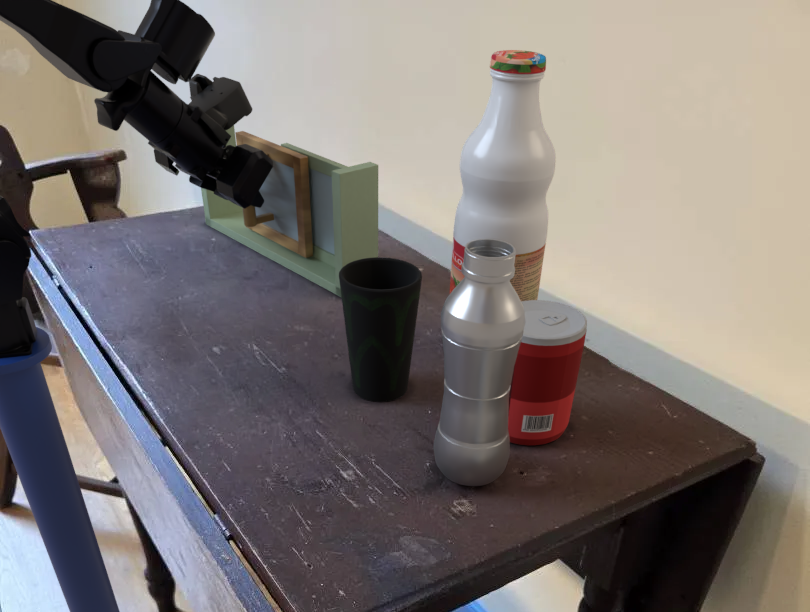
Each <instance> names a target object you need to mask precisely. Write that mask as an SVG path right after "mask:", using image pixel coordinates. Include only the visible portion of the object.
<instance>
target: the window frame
mask: <svg viewBox="0 0 810 612" xmlns="http://www.w3.org/2000/svg"><path fill="white" fill-rule="evenodd" d="M225 131H226V132H227V133H229V134H230V135H231V138H230V140H229V141H228V143H227V145H232V146H234V147H236V146H237V143H236V133H235V132H236V129H235V125H233V126H232V127H231V128H230V129H228V130H225ZM227 145H226V146H227ZM280 146H282V147H285V148H287V149H290V150H292V151H295V152H297V153H300V154H302V155H305V156H307V157H308V171H309V189H310V208H311V226H312V245H313V256H311V257H308V258H305V257H303V256H301V255H299V254H297V253H295V252H293V251H291V250H290V249H288V248H286V247H284V246H282V245H280V244H278V243H276V242H274V241H272V240H270V239H268V238H266V237H264V236H262V235H260V234H259V233H257V232H255V231H253V230H251V229H249V228H247V227H246V226H245V225H244V217H243V208H242V207H240V206H238V205H236V204H234V203H232V202H231V201H229V200H225V199H223V198H221V197H219V196H217V195H215V194H214V192H213V191H210V190H207V189H203V188H201V187H200V191H201V198H202V205H203V206H202V207H203V214H204V220H205V225H207V226H208V227H210V228H211V229H214V230H216V231H217V232H219V233H221V234H224V235H225V236H227V237H228V238H230V239H233V240H234V241H236V242H237V243H240V244H242V245H243V246H245V247H247V248H249V249H251V250H253V251H255V252H257V253H258V254H260V255H261V256H263V257H266V258H267V259H269V260H271V261H272V262H273V261H274V262H275V263H277V264H278V265H280V266H282V267H284V268H286V269H288V270H290V271H292V272H294V273H295V274H297V275H299V276H301V277H303V278H304V279H306V280H308V281H310V282H312V283H314V284H315V285H318V286H319V287H321V288H323V289H325V290H326V291H329V292H331V293H332V294H334V295H336V296H338V297H339V298H341V299H342V297H341V289H340V281H339V272H340V270H341V269H342V267H344V266H345V265H346V264H348V263H350V262H353V261H356V260H360V259H365V258H376V257H379V164H378V163H375V162H372V161H367V162H363V163H359V164H355V165H351V166H349V165H348V166H347V165H345V164H342V163H340V162H337V161H335V160H332V159H330V158H327V157H324V156H322V155H319V154H316V153H314V152H311V151H309V150H306V149H304V148H301V147H299V146H296V145H293V144H291V143H288V142H284V143H281V144H280Z"/></svg>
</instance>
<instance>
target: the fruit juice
mask: <svg viewBox="0 0 810 612" xmlns="http://www.w3.org/2000/svg"><path fill="white" fill-rule="evenodd" d="M546 69H547V57H546V55H545V54H543V53H540V52H536V51H530V50H520V49H506V50H504V49H503V50H497V51H494V52H493V53H492V54H491V56H490V61H489V76H490V77H491V81H492V82H491V89H490V93H489V98H488V101H487V104H486V106H485V109H484V112H483V115H482V117H481V119H480V121H479V123H478V124H477V126H476V127H475V128H474V129H473V131H472V132H471V133H470V134H469V135H468V137H467V139H466V140H465V141H464V144H463V146H462V148H461V152H460V158H459V173H460V179H461V185H462V193H461V196H460V199H459V200H458V202H457V206H456V209H455V213H454V214H455V215H454V221H453V222H454V223H453V231H452V236H453V237H452V251H451V265H450V278H449V279H450V282H449V294H448V296H449V295H450V293H451V292H452V291H453V289H454V288H455V287H456V286H457V285H458V284H459V283H460V282H461V281H462V280H463V279H464V277H465V276H464V275H463V274H462V271H461V269H462V263H463V262H464V251H465V246H466V244H467V243H468V242H470V241H473V240H477V239H495V240H501V241H504V242H507V243H509V244H511V245H513V246H514V247H515V249H516V251H515V252H516V255H515V263H514V267H515V273H514V277H513V278H512V279H510V283H511V285H512V286H513V288H514V289H515V291H516V293H517V294H518V296H519V299H520V301H529V300H539V293H540V292H539V291H540V286H541V277H542V272H543V271H542V270H543V264H544V258H545V251H546V245H547V238H548V230H549V209H548V205H547V194H548V192H549V189H550V186H551V184H552V182H553V178H554V175H555V171H556V163H557V160H556V159H557V157H556V149H555V146H554V144H553V142H552V139H551V138H550V136H549V134H548V133H547V130H546V128H545V127H544V123H543V118H542V113H541V111H542V110H541V105H540V104H541V103H540V85H541V81H542V80H543V79H544V77H545V73H546Z"/></svg>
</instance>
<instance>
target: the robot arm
mask: <svg viewBox="0 0 810 612" xmlns="http://www.w3.org/2000/svg"><path fill="white" fill-rule="evenodd" d="M0 22H2V23H4V24H5V25H6V26H8V27H10V28H12V29H13V30H14V31H16V33H18V34H19V35H21V37H23V38H24V39H25V40H26V41H27V42H28V43H29V44H30V45H31V46H32V47H33V49H34V50H35V51H36V52H37V53H39V55H40V56H42V58H43V59H45V60H46V61H47V62H49V63H50V64H51V65H52V66H53V67H54V68H56V69H57V70H58V71H59V72H60V73H61V74H62V75H63V76H64V77H66V78H68V79H70V80H71V81H75V82H77V83H79V84H81V85H85V86H86V87H90V88H92V89H95V90H97V91H100V92H103V93H107V94H106V95H105V96H102V97H95V98H94V100H93V102H94V104H95V107H96V118H97V123H98V125H99V126H102V127H105V128H108V129H110V130H112V131H115V132H118V131H119V130H120V128H121V126H122V124H123V122H124V121H125V123H127V124H128V125H129V126H131V128H133V129H134V130H135V131H137V133H139V134H140V135H141V136H143V138H145V139H146V140H147V141H148V142H147V144H148V145H149V146H150V147H151V148H153V153H154V154H153V155H154V161H155V163H156V164H158V165H159V166H160V167H161V168H163V170H165V171H166V172H169V173H171V174H172V175H175V176H178V175H179V173H180V172H182V173H184V174H186V175H189V177H188V181H189V183H191V184H192V185H193V186H194V185H195V186H197V187H199V188H200V189H201V188H203V189H207V190H210V191H213V192H214V194H215V195H217V196H219V197H221V198H223V199H225V200H229V201H231V202H232V203H234V204H236V205H238V206H240V207H242V208H244V209H245V208H247V207H249V206H250V205H251V206H255V207H258V208H261V207H262V205H263V203H264V199H263V197H262V195H261V193H260V192H259V190H260V188H261V186H262V185H263V183H264V181H265V180H266V178H267V176H268V174H269V173H270V171H271V169H272V168H273V160H272V159H271V158H269V157H268V156H267V155H266V154H265V153H264V152H263V151H262V150H260V149H257V148H255V147H252V146H250V145H247V144H242V145H237V144H236V147H234V146H232V145H227V143H228V141H229V140H230V138H231V135H230V134H229V133H227V132H226V131H225V130H228V129H230V128H231V127H232V126H233V125H234V126H235V125H236V124H237V123H238V122H239V121H241V120H242V119H244V117H248V116H250V115H251V113H252V112H253V107H252V105H251V102H250V100H249V99H248V96H247V94H246V92H245V89H244V88H243V86H242V83H241V82H240V81H237V80H234V79H232V78H228V77H227V76H221V77H217V76H214V77H213V78H212V80H213V81H212V80H211V79H210V78H208V77H207V76H206V75H203V74H200V73H196V74H195V72H196V70H197V69H198V67H199V65H200V64H201V61H202V60H203V58H204V56H205V54H206V52H207V51H208V49H209V47H210V46H211V43H212V42H213V40H214V38H215V37H216V31H215V30H214V28H213V26H212V25H211V24H210V22H209V21H208V20H207V19H206V18H205V17H204V15H202V14H201V13H198V12H196V11H195V10H194V9H193V8H192V7H190V6H189V5H187V4H186V3H185V2H183V1H181V0H150V4H149V7H148V10H147V11H146V13H145V15H144V16H143V18H142V20H141V21H140V24H139V25H138V27H137V30H136V31H135V33H131V32H127V31H123V30H116V29H115V28H113V27H111V26H110V25H108V24H105V23H104V22H101V21H99V20H97V19H95V18H92V17H90V16H89V15H87V14H84V13H81V12H79V11H77V10H75V9H73V8H70V7H67V6H66V5H63V4H61V3H58V2H56V1H54V0H0ZM156 74H157V75H156ZM194 74H195V75H194ZM158 76H159V77H160V78H162V79H163V80H165V81H166V82H168V83H170V84H173V85H177V83H178V81H179V80H181V81H183V82H184V83H188V85H189V95H190V96H189V99H190V100H191V101H190V102H189V103H187V102H185V101H184V100H183V99H182V98H180V97H179V95H177V94H176V92H174V91H173V90H172V89H171V88H170V87H169V86H168V85H167V84H166V83H164V81H162V80H161V79H160V78H159V77H158ZM226 145H227V146H226ZM174 164H175V165H174ZM25 237H27V238H28V237H31V233H30V232H29V231H27V230H26V229H25V228H23V226H21V225H20V223H19V222H18V220H17V218H16V216H15V214H14V212H13V209H12V207H11V206H10V204H9V202H8V200H7V199H6V198H5V197H3V196H2V195H0V358H9V357H18V356H27V355H30V354H32V349H33V343H34V342H35V341H36V336H37V329H36V327H37V325H36V323H35V319H34V316H33V312H32V310H31V307H30V306H31V305H30V304H29V300H28V298H26V297H25V296H24V297H23V291H24V276H25V275H24V274H26V272H27V270H28V268H29V266H30V260H31V258H32V251H31V247H30V245H29V243H28V241H27V239H26V238H25Z"/></svg>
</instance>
